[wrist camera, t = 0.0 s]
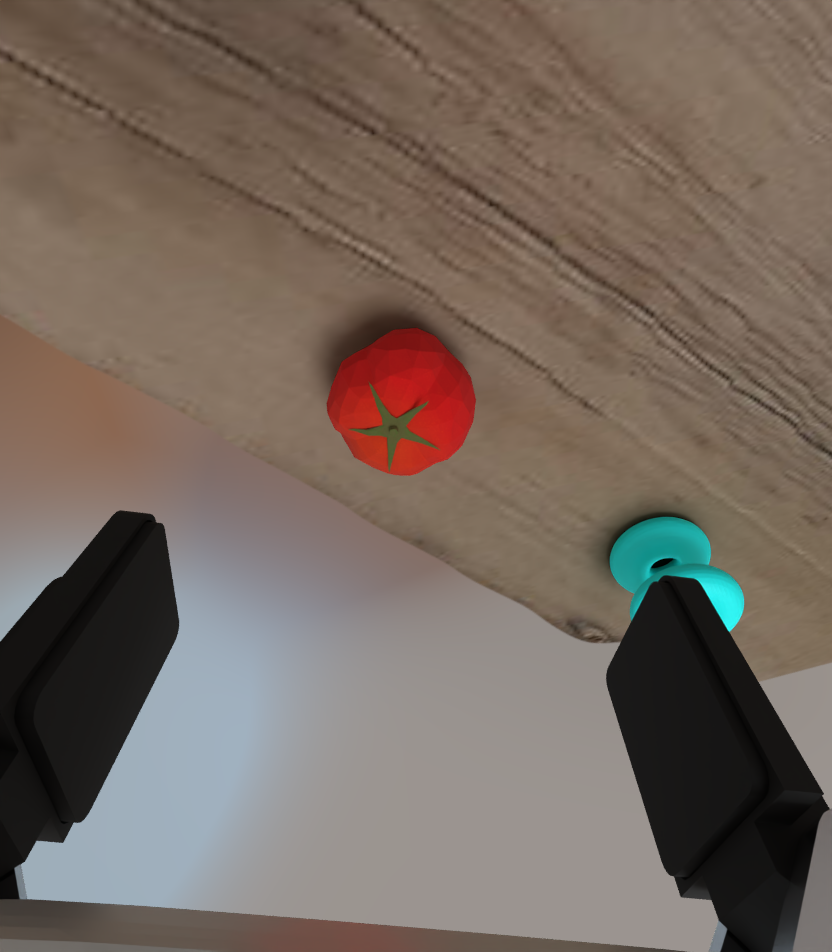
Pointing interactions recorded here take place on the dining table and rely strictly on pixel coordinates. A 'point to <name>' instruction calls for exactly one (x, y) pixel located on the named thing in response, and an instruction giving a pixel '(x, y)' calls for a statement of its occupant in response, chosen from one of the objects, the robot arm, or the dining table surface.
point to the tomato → (402, 402)
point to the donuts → (673, 564)
